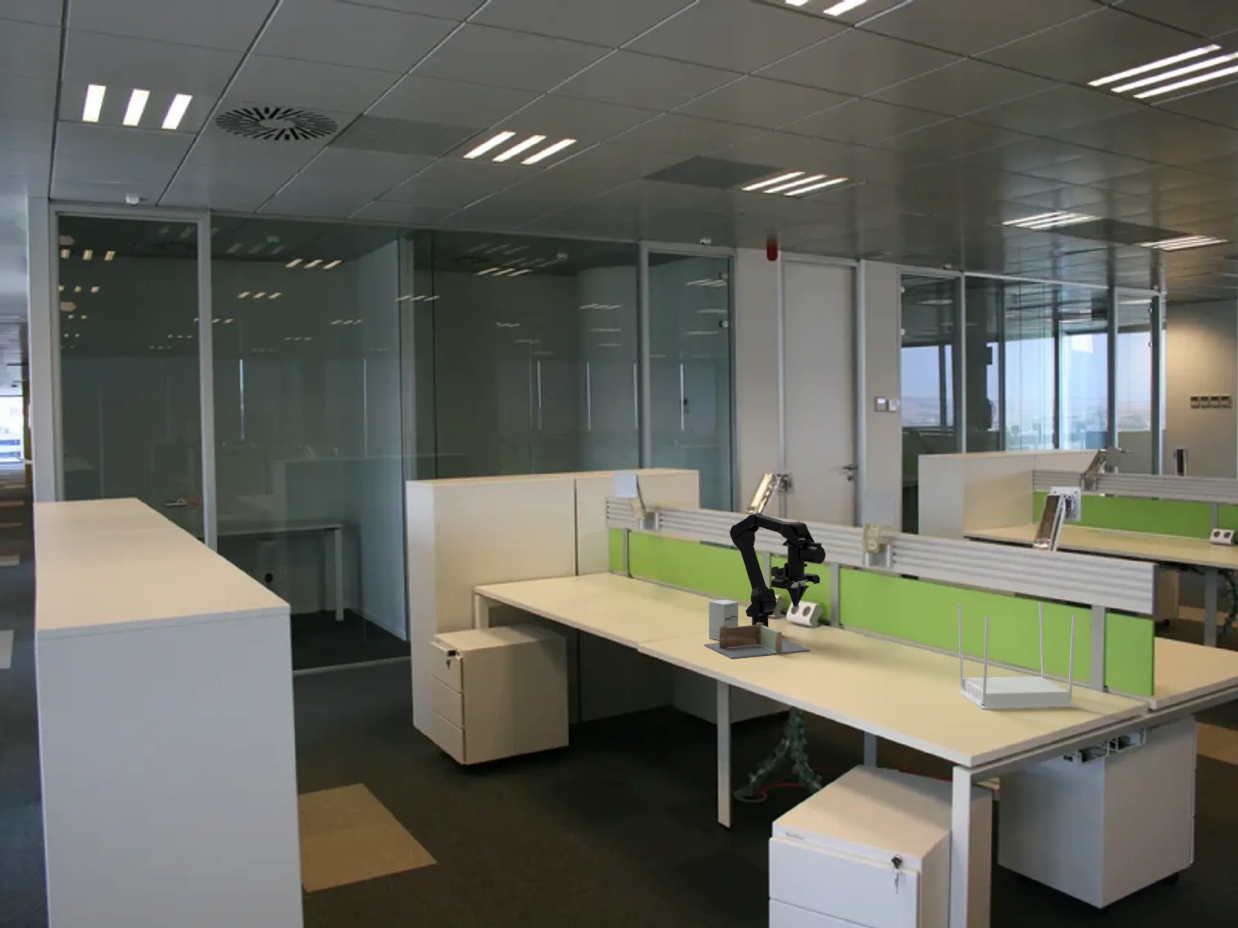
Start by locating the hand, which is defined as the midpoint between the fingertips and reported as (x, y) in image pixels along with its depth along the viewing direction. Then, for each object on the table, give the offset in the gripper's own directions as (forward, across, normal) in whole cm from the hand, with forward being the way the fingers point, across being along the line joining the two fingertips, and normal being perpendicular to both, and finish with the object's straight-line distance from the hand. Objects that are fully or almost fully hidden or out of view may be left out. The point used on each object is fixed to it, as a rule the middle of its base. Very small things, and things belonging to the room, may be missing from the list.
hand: (795, 606), depth 345 cm
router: (+10, +11, +85) cm, 86 cm away
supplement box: (+12, +15, -19) cm, 27 cm away
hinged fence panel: (+11, +17, +4) cm, 20 cm away
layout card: (+12, +18, -1) cm, 21 cm away
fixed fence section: (+11, +20, -5) cm, 24 cm away
